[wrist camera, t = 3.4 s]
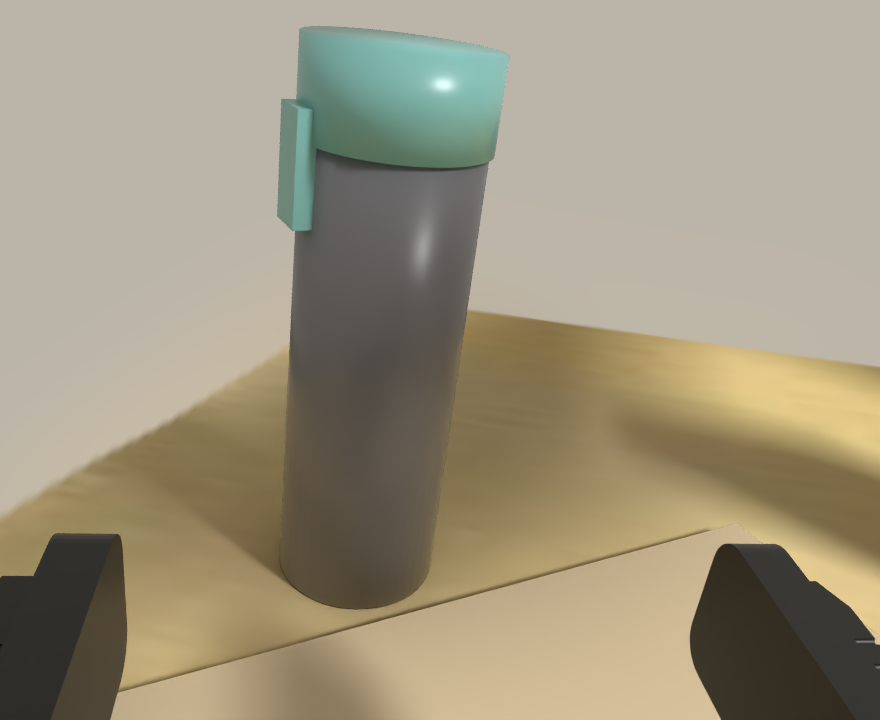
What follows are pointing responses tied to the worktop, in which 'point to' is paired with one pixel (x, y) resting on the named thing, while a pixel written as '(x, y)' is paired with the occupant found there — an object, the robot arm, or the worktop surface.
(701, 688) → the beige flat board
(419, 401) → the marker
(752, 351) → the worktop surface
